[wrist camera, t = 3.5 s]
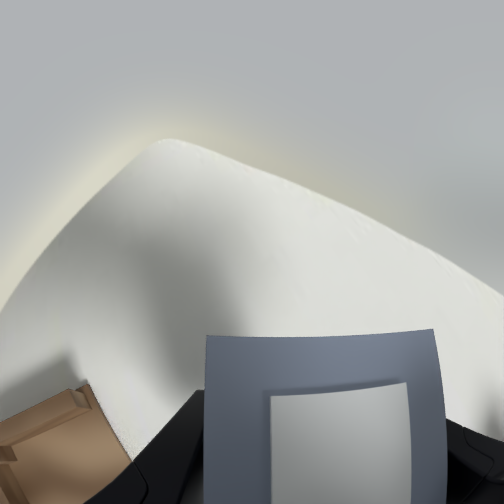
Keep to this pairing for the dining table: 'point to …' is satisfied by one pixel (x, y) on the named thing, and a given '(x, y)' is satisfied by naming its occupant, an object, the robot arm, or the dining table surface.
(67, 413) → the pocket
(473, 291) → the dining table surface
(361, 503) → the grey tall block
